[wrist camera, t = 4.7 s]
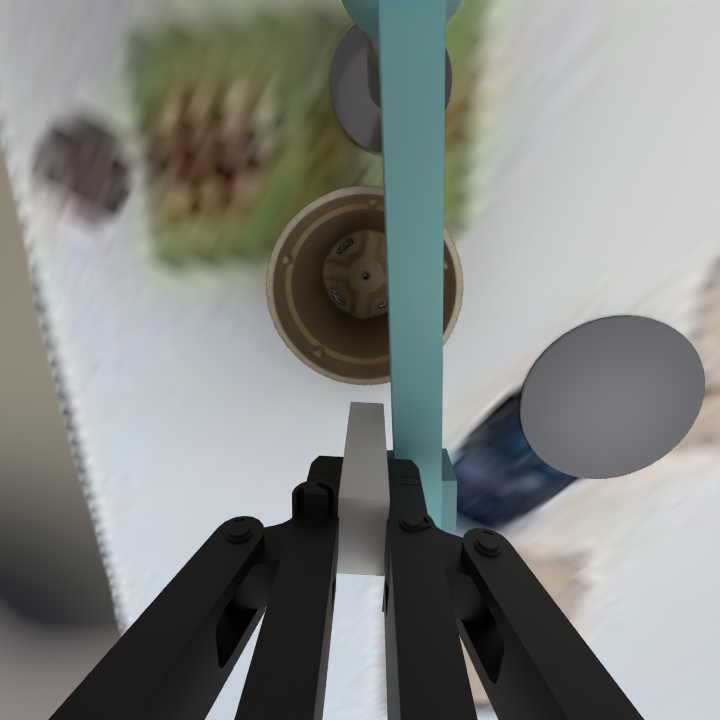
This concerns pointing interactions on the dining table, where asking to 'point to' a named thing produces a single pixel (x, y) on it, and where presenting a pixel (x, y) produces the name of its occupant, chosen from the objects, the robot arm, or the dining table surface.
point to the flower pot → (343, 286)
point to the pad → (612, 397)
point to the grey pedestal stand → (363, 89)
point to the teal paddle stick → (414, 229)
